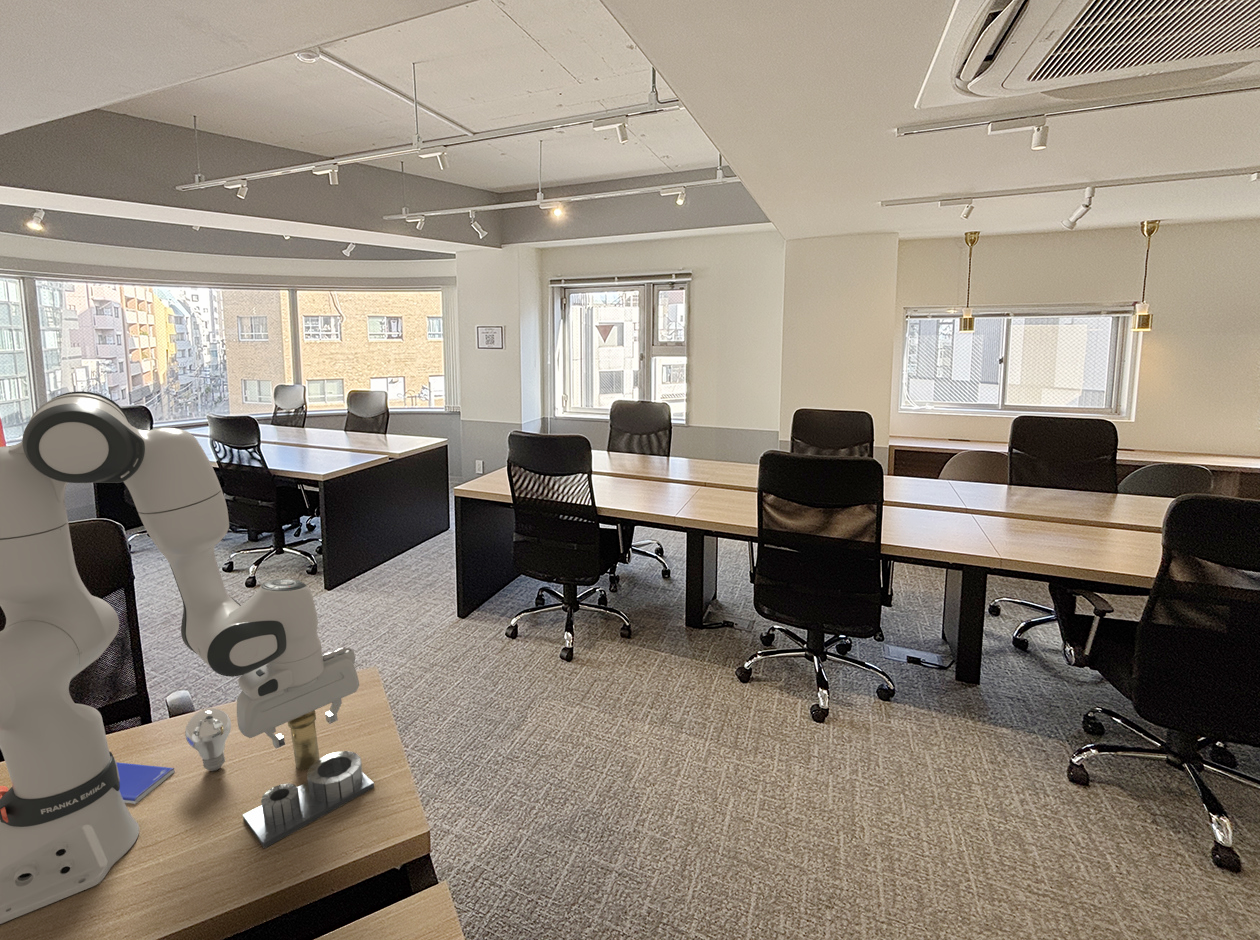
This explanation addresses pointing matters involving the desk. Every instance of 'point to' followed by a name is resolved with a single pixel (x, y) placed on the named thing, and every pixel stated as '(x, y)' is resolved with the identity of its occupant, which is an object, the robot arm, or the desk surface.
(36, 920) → the desk surface
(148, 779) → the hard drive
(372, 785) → the manifold plate
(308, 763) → the brass fitting
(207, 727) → the light bulb
